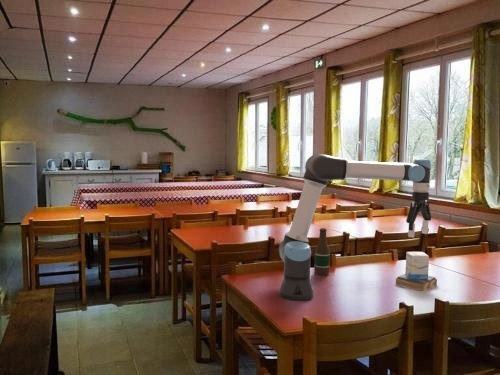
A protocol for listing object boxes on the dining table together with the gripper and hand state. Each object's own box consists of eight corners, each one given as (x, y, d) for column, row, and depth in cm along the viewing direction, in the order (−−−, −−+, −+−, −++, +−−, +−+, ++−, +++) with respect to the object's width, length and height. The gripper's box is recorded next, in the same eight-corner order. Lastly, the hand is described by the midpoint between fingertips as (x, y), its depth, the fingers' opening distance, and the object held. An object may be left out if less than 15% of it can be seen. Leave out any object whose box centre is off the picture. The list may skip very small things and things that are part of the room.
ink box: (428, 279, 222) (429, 255, 221) (410, 279, 223) (411, 255, 221) (422, 274, 231) (423, 251, 230) (404, 274, 231) (406, 251, 230)
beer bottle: (328, 272, 247) (330, 227, 245) (329, 276, 240) (331, 230, 237) (313, 271, 248) (315, 227, 246) (314, 275, 240) (315, 229, 238)
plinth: (422, 291, 217) (423, 283, 217) (395, 284, 227) (395, 276, 227) (436, 285, 227) (437, 277, 226) (409, 279, 237) (410, 271, 237)
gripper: (415, 193, 211) (412, 239, 213) (440, 190, 228) (437, 233, 230) (400, 192, 217) (397, 237, 219) (425, 189, 234) (423, 231, 236)
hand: (418, 235), depth 225 cm, fingers open, 13 cm apart
